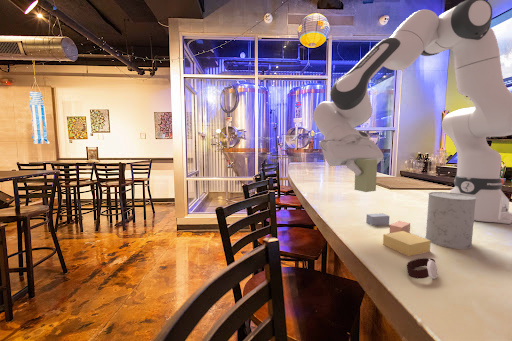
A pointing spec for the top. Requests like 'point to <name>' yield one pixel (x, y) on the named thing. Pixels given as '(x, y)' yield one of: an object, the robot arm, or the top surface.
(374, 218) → the slate brick
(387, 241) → the ochre slab
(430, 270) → the watch
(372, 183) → the olive brick
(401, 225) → the terracotta brick
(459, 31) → the robot arm
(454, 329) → the top surface
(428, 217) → the speckled grey cylinder
